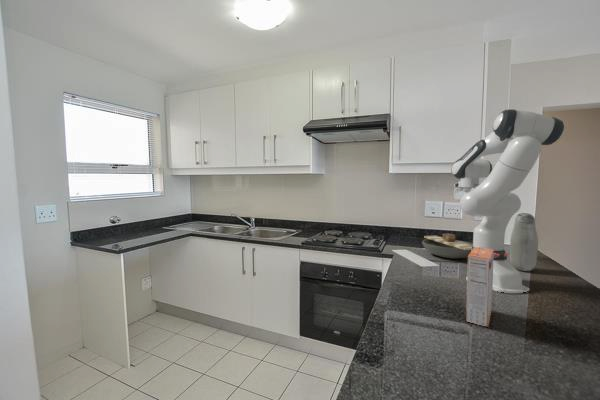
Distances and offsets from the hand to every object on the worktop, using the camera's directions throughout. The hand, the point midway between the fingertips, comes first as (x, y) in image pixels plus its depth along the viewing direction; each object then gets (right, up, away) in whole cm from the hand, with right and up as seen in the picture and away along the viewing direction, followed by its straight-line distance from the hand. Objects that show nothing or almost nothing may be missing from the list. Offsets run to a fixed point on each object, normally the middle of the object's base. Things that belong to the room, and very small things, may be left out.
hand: (468, 208), depth 152 cm
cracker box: (-39, -32, -66) cm, 83 cm away
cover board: (-9, -20, +4) cm, 22 cm away
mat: (-31, -28, +2) cm, 42 cm away
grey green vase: (+13, -30, -20) cm, 38 cm away
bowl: (-9, -28, +4) cm, 30 cm away
